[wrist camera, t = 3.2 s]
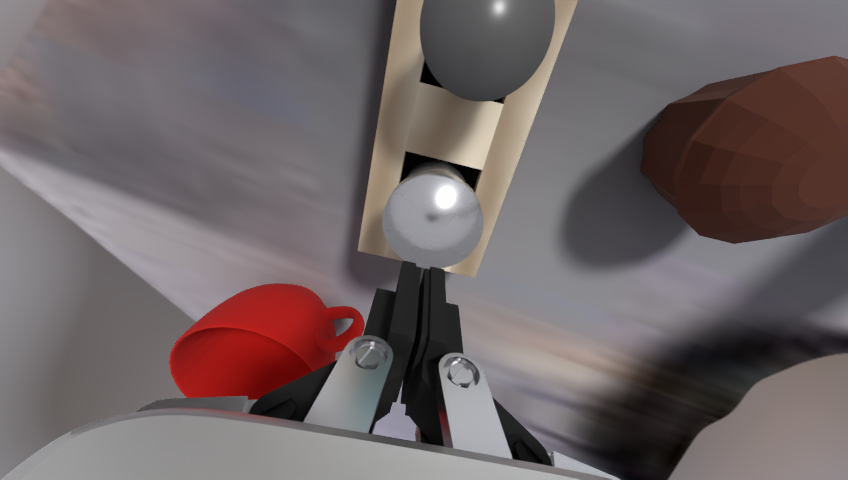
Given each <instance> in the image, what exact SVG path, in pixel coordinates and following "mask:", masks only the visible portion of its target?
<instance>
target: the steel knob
mask: <svg viewBox="0 0 848 480" xmlns="http://www.w3.org/2000/svg"><path fill="white" fill-rule="evenodd" d="M382 226H383V232H384V235H385V238H386V240H387V242H388V244H389V246H390V247H391V249H392V250H393V251H394V252H395V253H396V254H397V255H398V256H399V257H400V258H402V259H403V260H404V261H409V262H413V263H416V266H418V267H421V268H427V269H430V267H431V266H432V267H436V268H446V267H449V266H452V265H455V264H457V263H459V262H461V261H462V260H464V259H465V258H467V257H468V256H469V255H470V254H471V253H472V252H473V251H474V249H475V248H476V246H477V245H478V243H479V241H480V239H481V236H482V232H483V226H484V223H483V213H482V210H481V207H480V204H479V200H478V198H477V196H476V194H475V193H474V191H473V190H472V188H471V187H470V186H469V185H468V184H467V183H466V182H465V179H464V177H463V176H462V174H461V173H460V172H459V171H458V170H457V169H456V168H455V167H454V166H452V165H450V164H448V163H445V162H442V161H428V162H424V163H422V164H420V165H418V166H416V167H415V168H414V169H412V170H411V171H410V173H409V174H408V175H407V177H406V179H404V180H403V181H402V182H401V183H400V184H398V185H397V187H396V188H395V189H394V190H393V192H392V193H391V195H390V197H389V199H388V201H387V203H386V206H385V208H384V212H383V218H382Z"/></svg>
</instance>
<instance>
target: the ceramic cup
mask: <svg viewBox="0 0 848 480" xmlns="http://www.w3.org/2000/svg"><path fill="white" fill-rule="evenodd" d="M343 318H351V319H354V320H353V323H352V324H351V326H350V327H349V328H348V329H347V330H346V331H345V332H344V333H342V334H341V335H339V336H337V337H336V332H335V326H334V323H333V320H335V319H343ZM363 330H364V320H363V317H362V316H361V314H360V313H359V312H358V311H357V310H356V309H354V308H352V307H347V306H340V307H331V308H326V306H325V305H324V304H323V302H322V301H321V299H320V298H319V297H318V296H317V295H316V294H315V293H314V292H312V291H311V290H309V289H307V288H305V287H302V286H298V285H291V284H266V285H261V286H257V287H254V288H250V289H247V290H245V291H242V292H240V293H238V294H236V295H235V296H233V297H231V298H229V299H227V300H226V301H224V302H223V303H221V304H219V305H218V306H217V307H215V308H214V309H213V310H211V311H210V312H209V313H207V314H206V315H205V316H204V317H202V318H201V319H200V320H199V321H198V322H196V323H195V324H194V325H193V326H192V327H191V328H190V329H189V330H187V331H186V332H185V333H184V334H183V335H182V336H181V337H180V338H179V340H178V341H176V343H175V345H174V347H173V349H172V351H171V354H170V361H169V364H170V369H171V374H172V376H173V378H174V381H175V383H176V384H177V386H178V387H179V389H180V390H181V392H182V393H183V394H184V395H185V396H186V397H187V398H199V397H227V396H248V400H258V399H259V398H260V397H262V396H264V395H265V394H267V393H269V392H271V391H273V390H275V389H277V388H279V387H281V386H283V385H286V384H288V383H290V382H292V381H294V380H296V379H298V378H300V377H303V376H305V375H307V374H309V373H311V372H313V371H315V370H317V369H320V368H322V367H324V366H326V365H328V364H330V363H332V362H334V360H335V355H336V352H339V351H342V350H344V349H345V347H346V346H347V344H348V343H349V342H350V341H351V340H353V339H354V338H356V337H359V336H361V335H362V333H363Z"/></svg>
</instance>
